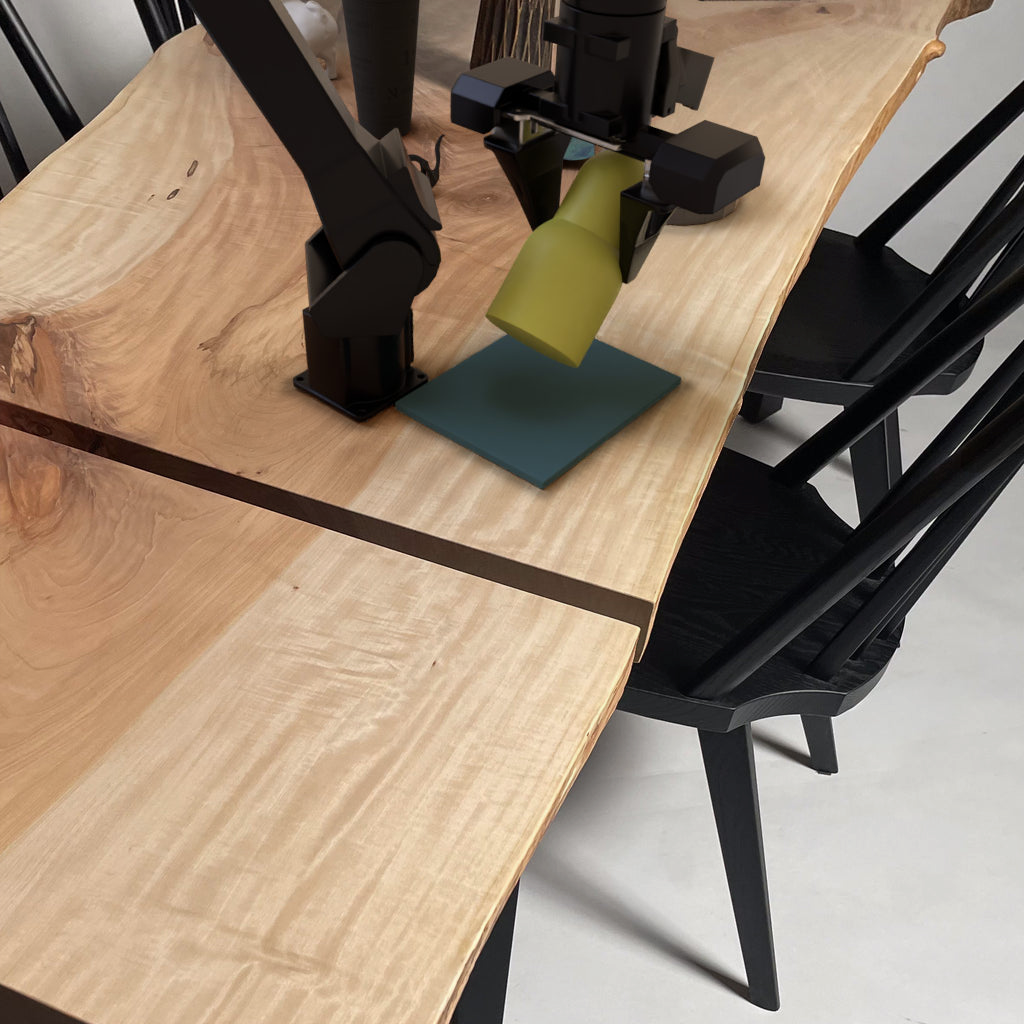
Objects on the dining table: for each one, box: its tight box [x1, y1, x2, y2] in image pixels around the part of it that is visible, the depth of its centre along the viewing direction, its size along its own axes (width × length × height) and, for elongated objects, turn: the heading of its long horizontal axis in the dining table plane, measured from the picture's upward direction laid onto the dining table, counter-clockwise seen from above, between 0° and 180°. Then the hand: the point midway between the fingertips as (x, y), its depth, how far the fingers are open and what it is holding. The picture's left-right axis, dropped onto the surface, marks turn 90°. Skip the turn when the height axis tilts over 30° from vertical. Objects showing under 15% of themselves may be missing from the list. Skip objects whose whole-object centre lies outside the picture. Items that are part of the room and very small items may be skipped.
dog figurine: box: [281, 0, 339, 80], centre depth 112 cm, size 5×13×11 cm, turn 51°
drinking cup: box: [341, 0, 421, 139], centre depth 98 cm, size 8×8×20 cm
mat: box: [394, 333, 682, 490], centre depth 72 cm, size 15×12×1 cm
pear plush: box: [484, 150, 645, 368], centre depth 68 cm, size 7×7×14 cm
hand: (587, 264), depth 69 cm, fingers closed on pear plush, 6 cm apart
